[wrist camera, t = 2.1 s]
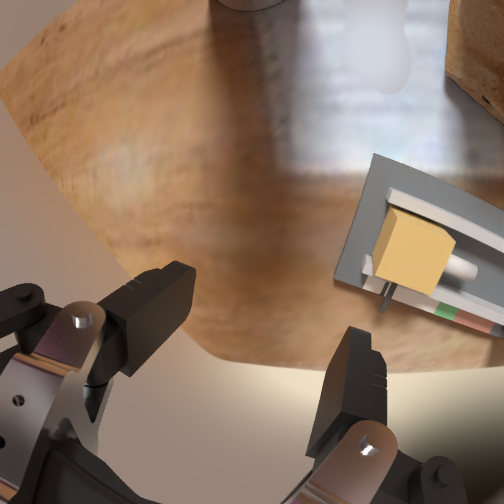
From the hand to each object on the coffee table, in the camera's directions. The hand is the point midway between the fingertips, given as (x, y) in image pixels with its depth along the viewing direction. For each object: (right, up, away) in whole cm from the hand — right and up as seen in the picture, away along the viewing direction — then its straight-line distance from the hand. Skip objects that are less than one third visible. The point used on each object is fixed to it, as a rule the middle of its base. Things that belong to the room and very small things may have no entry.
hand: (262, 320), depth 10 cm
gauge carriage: (+14, +1, +14) cm, 20 cm away
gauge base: (+20, +2, +14) cm, 25 cm away
